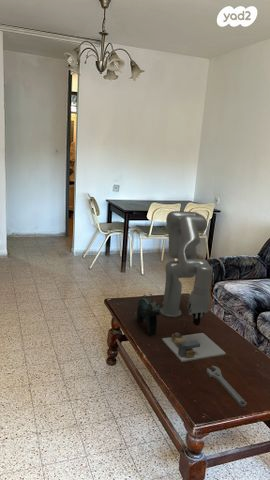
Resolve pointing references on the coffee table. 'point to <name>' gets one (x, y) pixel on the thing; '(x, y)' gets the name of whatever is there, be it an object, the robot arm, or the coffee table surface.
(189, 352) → the tan bar
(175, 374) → the coffee table surface
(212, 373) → the adjustable wrench
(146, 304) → the ceramic cat
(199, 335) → the mounting board
